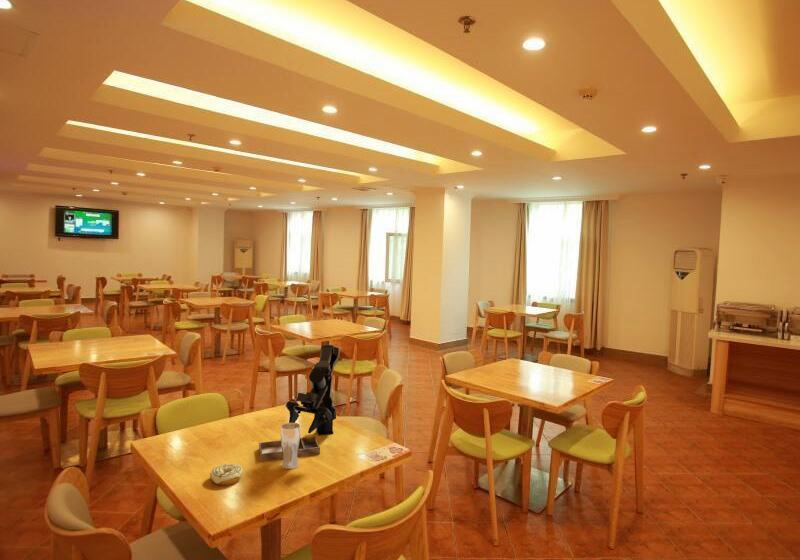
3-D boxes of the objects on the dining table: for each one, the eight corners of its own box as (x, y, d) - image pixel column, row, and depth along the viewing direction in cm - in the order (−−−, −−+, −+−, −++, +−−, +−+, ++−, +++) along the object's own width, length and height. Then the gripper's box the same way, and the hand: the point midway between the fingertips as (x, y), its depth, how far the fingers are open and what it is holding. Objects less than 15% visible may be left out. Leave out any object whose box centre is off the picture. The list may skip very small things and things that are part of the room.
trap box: (315, 442, 192) (315, 436, 192) (319, 453, 181) (320, 447, 181) (259, 448, 185) (259, 442, 184) (260, 460, 174) (260, 454, 174)
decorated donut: (214, 490, 153) (214, 479, 152) (207, 477, 161) (206, 466, 161) (246, 482, 158) (246, 471, 158) (237, 469, 167) (237, 459, 167)
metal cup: (303, 463, 173) (304, 424, 172) (291, 471, 166) (292, 430, 166) (288, 459, 176) (288, 421, 175) (276, 467, 169) (276, 427, 168)
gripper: (288, 380, 183) (269, 416, 173) (328, 387, 175) (310, 425, 165) (300, 394, 190) (282, 430, 181) (339, 402, 182) (322, 439, 173)
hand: (298, 430), depth 175 cm, fingers open, 9 cm apart
